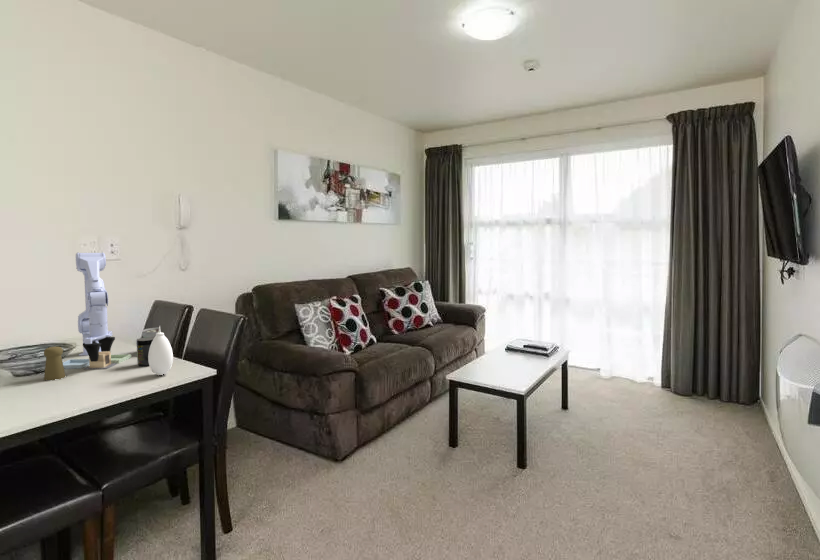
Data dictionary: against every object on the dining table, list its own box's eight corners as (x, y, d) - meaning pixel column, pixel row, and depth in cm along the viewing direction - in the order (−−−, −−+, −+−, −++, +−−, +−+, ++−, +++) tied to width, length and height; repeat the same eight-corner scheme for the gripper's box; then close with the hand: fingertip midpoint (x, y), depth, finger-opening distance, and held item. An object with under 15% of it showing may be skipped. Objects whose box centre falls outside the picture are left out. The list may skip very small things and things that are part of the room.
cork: (53, 381, 154) (51, 349, 154) (39, 380, 156) (37, 348, 155) (70, 376, 160) (68, 345, 160) (56, 375, 162) (54, 344, 161)
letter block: (97, 364, 174) (96, 351, 173) (111, 364, 174) (110, 351, 174) (89, 367, 169) (89, 354, 169) (104, 367, 169) (103, 354, 169)
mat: (94, 365, 175) (94, 363, 175) (116, 364, 176) (116, 363, 176) (83, 370, 168) (83, 368, 168) (106, 369, 169) (106, 368, 169)
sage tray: (106, 358, 185) (106, 354, 185) (131, 357, 186) (131, 354, 186) (93, 364, 176) (92, 360, 176) (119, 364, 177) (118, 360, 177)
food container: (144, 350, 200) (143, 328, 199) (159, 349, 202) (159, 327, 202) (140, 356, 189) (139, 333, 188) (157, 355, 191) (156, 332, 190)
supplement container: (150, 367, 172) (150, 340, 171) (133, 367, 172) (132, 340, 171) (160, 363, 179) (160, 337, 178) (144, 363, 179) (143, 337, 178)
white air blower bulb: (174, 376, 162) (172, 326, 160) (149, 379, 157) (147, 328, 156) (172, 370, 168) (171, 323, 167) (148, 373, 164) (146, 324, 163)
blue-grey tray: (70, 363, 178) (70, 359, 178) (96, 362, 179) (96, 358, 179) (54, 369, 168) (53, 365, 168) (81, 369, 169) (81, 365, 169)
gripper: (98, 326, 164) (100, 363, 165) (119, 320, 178) (121, 353, 179) (77, 326, 163) (79, 363, 164) (100, 320, 177) (102, 354, 178)
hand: (100, 358), depth 171 cm, fingers open, 7 cm apart
